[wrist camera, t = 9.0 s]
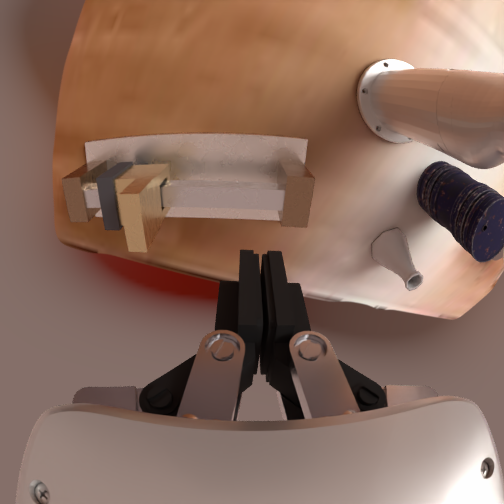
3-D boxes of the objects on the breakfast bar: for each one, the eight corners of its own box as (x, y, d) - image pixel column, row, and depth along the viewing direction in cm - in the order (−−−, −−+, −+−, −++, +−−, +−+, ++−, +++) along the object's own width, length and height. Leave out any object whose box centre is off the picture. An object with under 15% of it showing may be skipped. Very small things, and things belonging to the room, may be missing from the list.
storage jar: (464, 170, 35) (521, 208, 22) (445, 218, 40) (494, 266, 27) (427, 152, 34) (491, 188, 21) (408, 207, 39) (460, 258, 26)
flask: (378, 269, 46) (399, 307, 37) (364, 242, 42) (388, 280, 34) (409, 249, 43) (436, 284, 35) (399, 220, 40) (429, 253, 32)
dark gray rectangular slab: (132, 161, 30) (111, 177, 25) (137, 207, 34) (119, 230, 29) (119, 162, 30) (96, 178, 25) (124, 207, 34) (105, 230, 28)
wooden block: (169, 162, 30) (139, 193, 22) (171, 207, 34) (147, 252, 25) (131, 163, 30) (91, 195, 21) (136, 207, 33) (103, 250, 25)
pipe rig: (306, 138, 33) (323, 151, 26) (295, 218, 40) (307, 249, 33) (88, 141, 32) (55, 156, 24) (98, 214, 38) (73, 241, 31)
